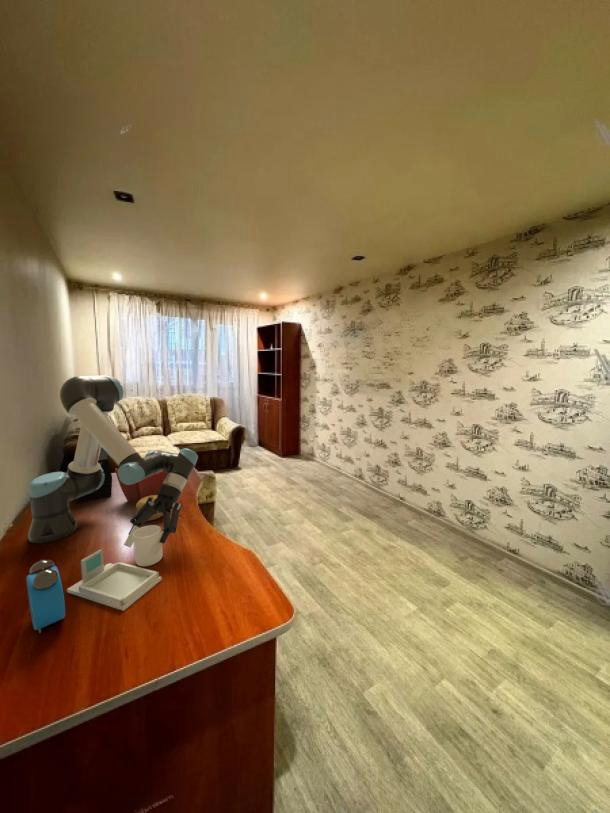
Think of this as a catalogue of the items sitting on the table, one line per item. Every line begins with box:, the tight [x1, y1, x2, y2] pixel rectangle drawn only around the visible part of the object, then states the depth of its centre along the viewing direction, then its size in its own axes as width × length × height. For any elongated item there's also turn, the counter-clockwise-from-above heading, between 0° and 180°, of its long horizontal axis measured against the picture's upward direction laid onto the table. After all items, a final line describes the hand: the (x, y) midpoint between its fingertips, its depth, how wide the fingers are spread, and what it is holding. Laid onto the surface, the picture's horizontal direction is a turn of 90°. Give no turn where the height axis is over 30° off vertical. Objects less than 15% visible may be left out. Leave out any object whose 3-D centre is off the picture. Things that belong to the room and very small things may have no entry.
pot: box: [135, 495, 163, 522], centre depth 137 cm, size 12×12×10 cm
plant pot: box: [114, 467, 169, 505], centre depth 157 cm, size 19×19×17 cm
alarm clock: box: [26, 559, 66, 634], centre depth 80 cm, size 13×6×15 cm, turn 46°
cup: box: [133, 524, 164, 567], centre depth 107 cm, size 8×12×10 cm
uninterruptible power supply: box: [73, 447, 113, 504], centre depth 170 cm, size 16×34×20 cm, turn 35°
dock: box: [66, 549, 163, 612], centre depth 94 cm, size 22×13×8 cm, turn 70°
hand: (140, 549), depth 105 cm, fingers closed on cup, 11 cm apart
